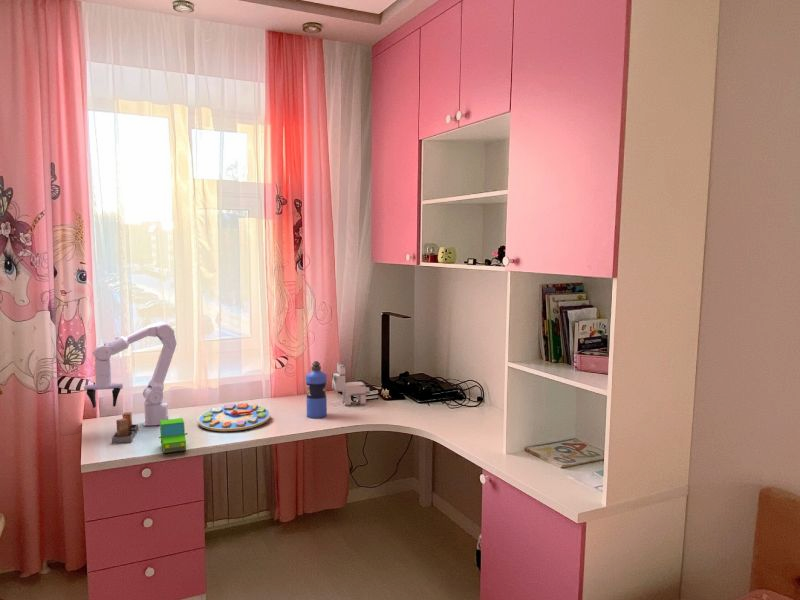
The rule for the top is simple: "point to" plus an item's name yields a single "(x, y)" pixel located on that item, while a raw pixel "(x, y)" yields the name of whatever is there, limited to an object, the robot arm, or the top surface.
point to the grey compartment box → (131, 430)
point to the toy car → (172, 435)
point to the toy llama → (348, 387)
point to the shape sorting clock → (234, 417)
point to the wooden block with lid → (122, 427)
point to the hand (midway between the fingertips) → (104, 406)
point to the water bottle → (316, 392)
